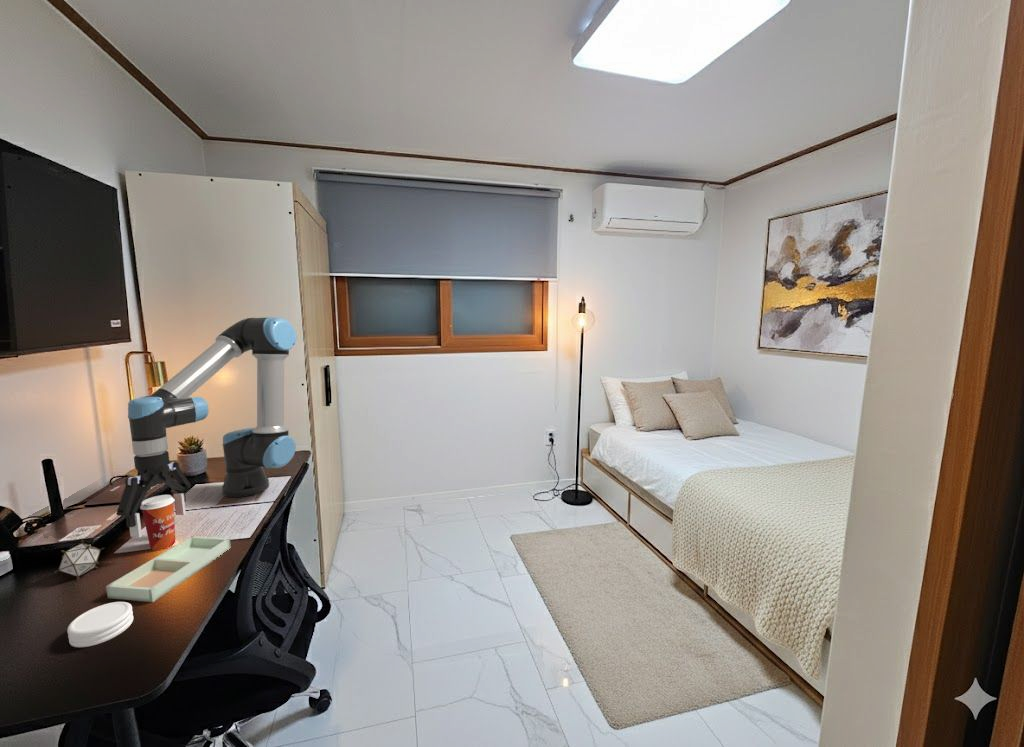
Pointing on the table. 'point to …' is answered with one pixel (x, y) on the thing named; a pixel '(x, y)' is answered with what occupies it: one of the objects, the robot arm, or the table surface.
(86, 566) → the game die
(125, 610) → the coaster
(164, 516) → the paper cup
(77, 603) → the table surface
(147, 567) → the mint green tray
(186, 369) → the robot arm
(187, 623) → the table surface
